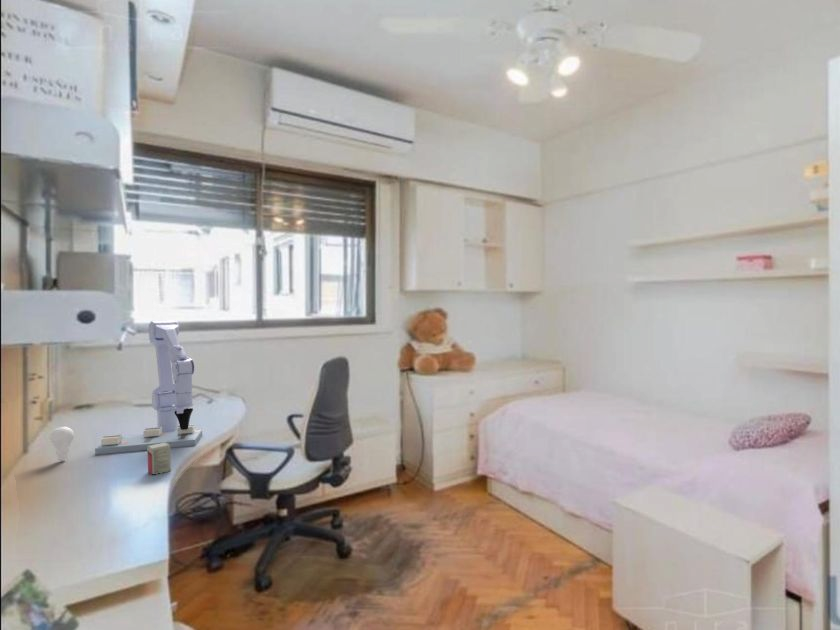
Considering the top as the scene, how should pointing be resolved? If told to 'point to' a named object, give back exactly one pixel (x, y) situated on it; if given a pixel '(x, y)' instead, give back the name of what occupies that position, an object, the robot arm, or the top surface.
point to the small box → (159, 458)
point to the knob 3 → (189, 430)
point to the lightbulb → (62, 441)
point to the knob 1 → (111, 440)
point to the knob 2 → (152, 431)
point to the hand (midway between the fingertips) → (184, 429)
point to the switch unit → (150, 442)
